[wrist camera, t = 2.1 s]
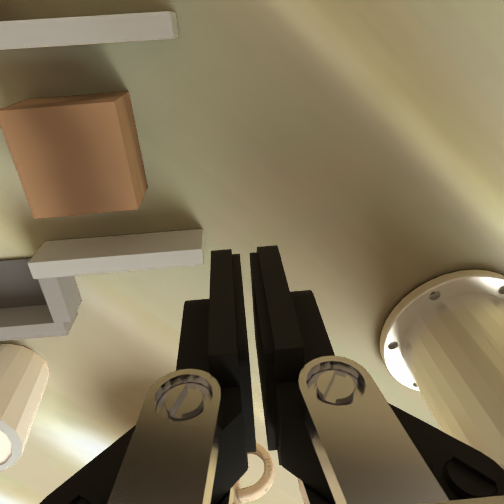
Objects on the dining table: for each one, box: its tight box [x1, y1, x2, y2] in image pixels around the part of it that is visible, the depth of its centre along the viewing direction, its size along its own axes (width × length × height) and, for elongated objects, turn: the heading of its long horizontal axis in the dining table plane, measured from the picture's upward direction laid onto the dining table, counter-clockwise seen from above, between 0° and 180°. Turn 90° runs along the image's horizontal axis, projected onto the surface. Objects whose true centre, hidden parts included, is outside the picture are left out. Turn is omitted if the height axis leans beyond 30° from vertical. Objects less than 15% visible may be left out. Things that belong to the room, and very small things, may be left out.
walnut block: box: [0, 91, 148, 219], centre depth 24 cm, size 6×6×4 cm
